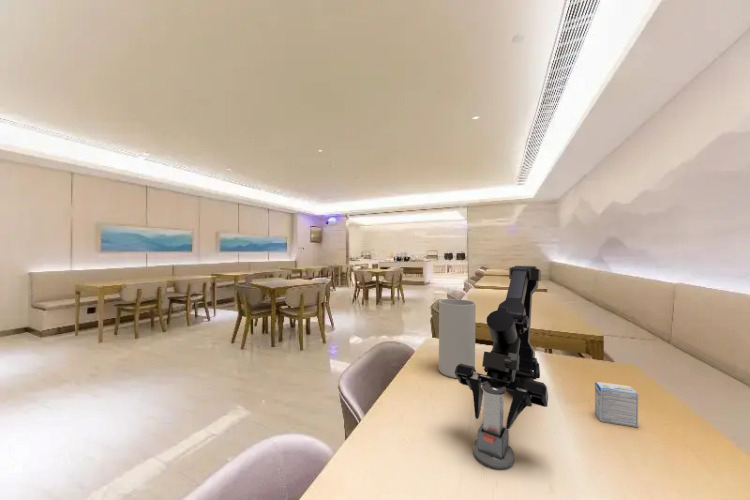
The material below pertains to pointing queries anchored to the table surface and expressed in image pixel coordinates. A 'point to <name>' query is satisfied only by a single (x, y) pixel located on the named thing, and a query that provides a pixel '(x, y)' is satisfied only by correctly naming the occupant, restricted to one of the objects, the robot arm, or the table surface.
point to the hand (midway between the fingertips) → (491, 423)
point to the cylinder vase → (456, 335)
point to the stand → (493, 450)
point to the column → (493, 408)
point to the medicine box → (616, 404)
